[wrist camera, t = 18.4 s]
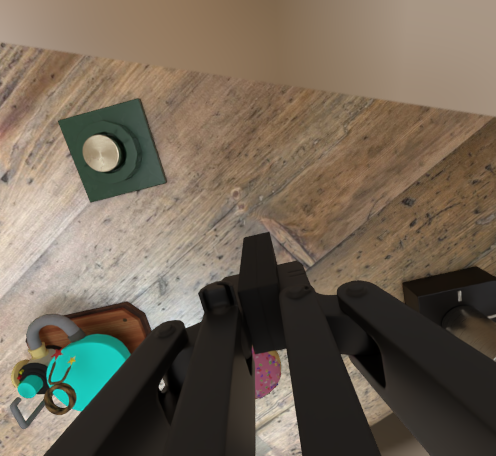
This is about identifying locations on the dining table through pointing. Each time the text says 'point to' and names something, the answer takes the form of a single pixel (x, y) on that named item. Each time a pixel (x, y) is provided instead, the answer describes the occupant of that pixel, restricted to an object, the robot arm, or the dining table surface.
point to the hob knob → (472, 329)
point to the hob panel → (452, 293)
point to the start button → (103, 153)
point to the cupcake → (266, 372)
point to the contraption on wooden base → (76, 356)
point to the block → (132, 139)
